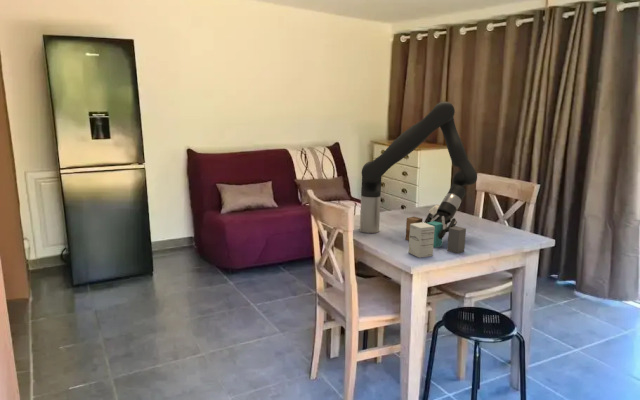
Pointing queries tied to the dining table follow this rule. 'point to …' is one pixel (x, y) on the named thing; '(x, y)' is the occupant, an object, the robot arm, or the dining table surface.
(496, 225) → the dining table surface
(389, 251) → the dining table surface
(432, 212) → the die
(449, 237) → the charcoal block
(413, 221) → the walnut block
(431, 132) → the robot arm
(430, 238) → the supplement box
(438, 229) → the teal block
